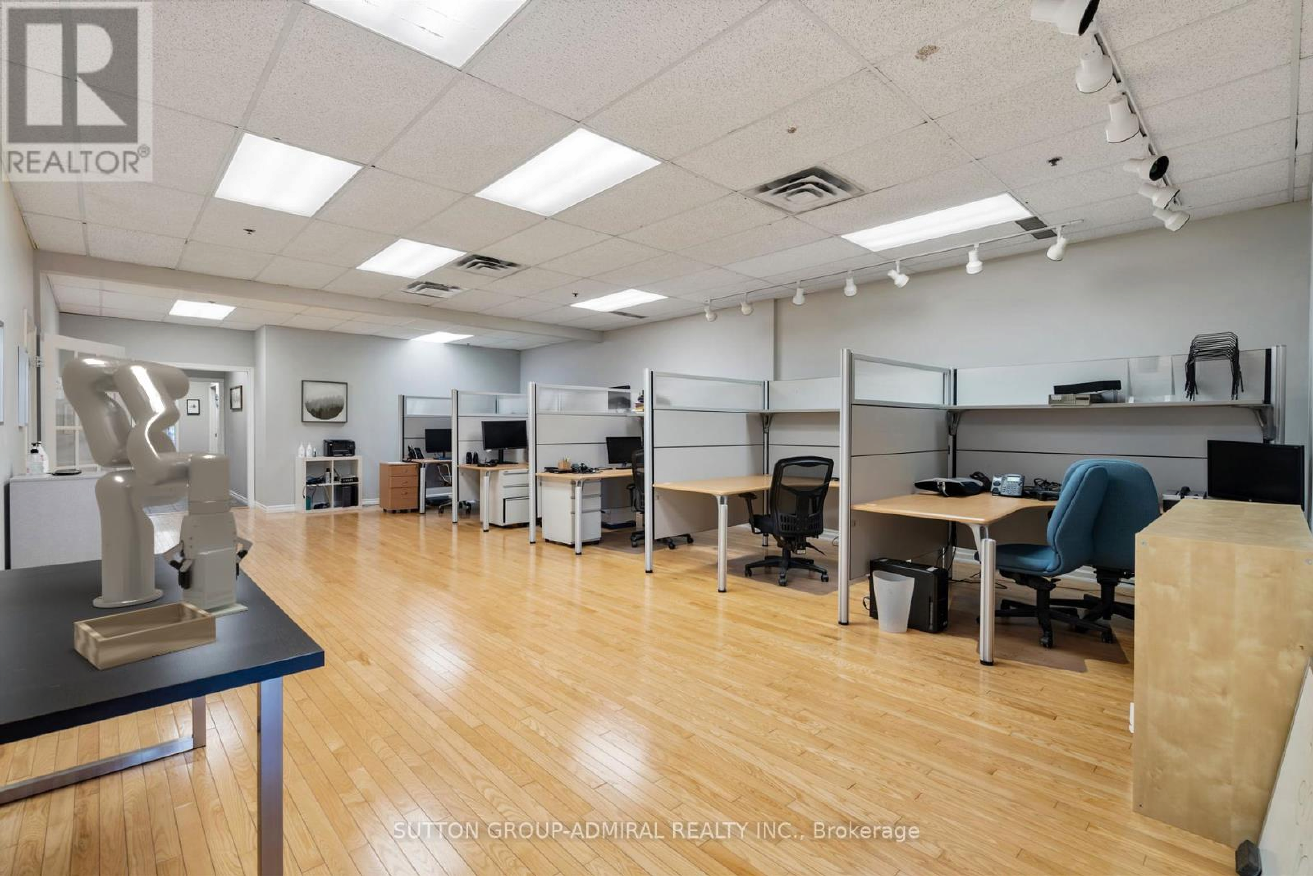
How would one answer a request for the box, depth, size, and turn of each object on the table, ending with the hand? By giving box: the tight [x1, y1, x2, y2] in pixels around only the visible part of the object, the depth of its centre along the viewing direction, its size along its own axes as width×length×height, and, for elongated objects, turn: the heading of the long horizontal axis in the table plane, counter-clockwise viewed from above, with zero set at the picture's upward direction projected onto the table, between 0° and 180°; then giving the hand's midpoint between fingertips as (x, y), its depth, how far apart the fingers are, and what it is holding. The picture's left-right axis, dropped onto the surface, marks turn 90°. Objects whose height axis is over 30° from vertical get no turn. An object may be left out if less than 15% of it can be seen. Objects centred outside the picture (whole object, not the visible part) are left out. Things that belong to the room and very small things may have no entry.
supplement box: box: [182, 548, 237, 610], centre depth 135 cm, size 7×7×13 cm
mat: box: [204, 601, 249, 618], centre depth 135 cm, size 11×11×1 cm
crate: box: [73, 600, 217, 671], centre depth 114 cm, size 17×17×5 cm
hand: (209, 583), depth 135 cm, fingers closed on supplement box, 8 cm apart
